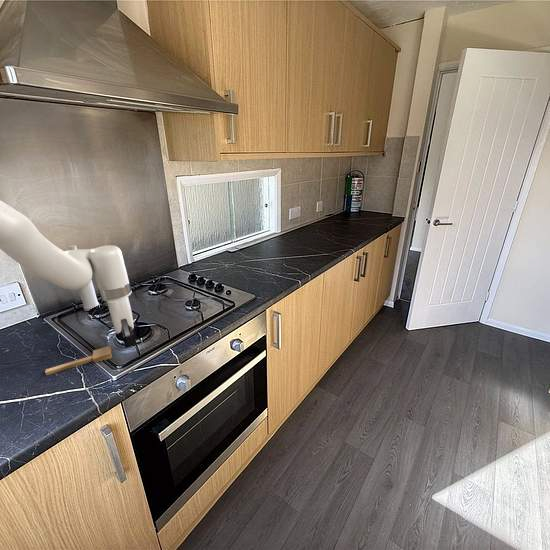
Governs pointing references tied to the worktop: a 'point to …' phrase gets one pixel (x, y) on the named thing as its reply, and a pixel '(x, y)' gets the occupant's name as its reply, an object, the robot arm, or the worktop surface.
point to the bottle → (87, 292)
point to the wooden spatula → (83, 360)
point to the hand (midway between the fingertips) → (131, 344)
